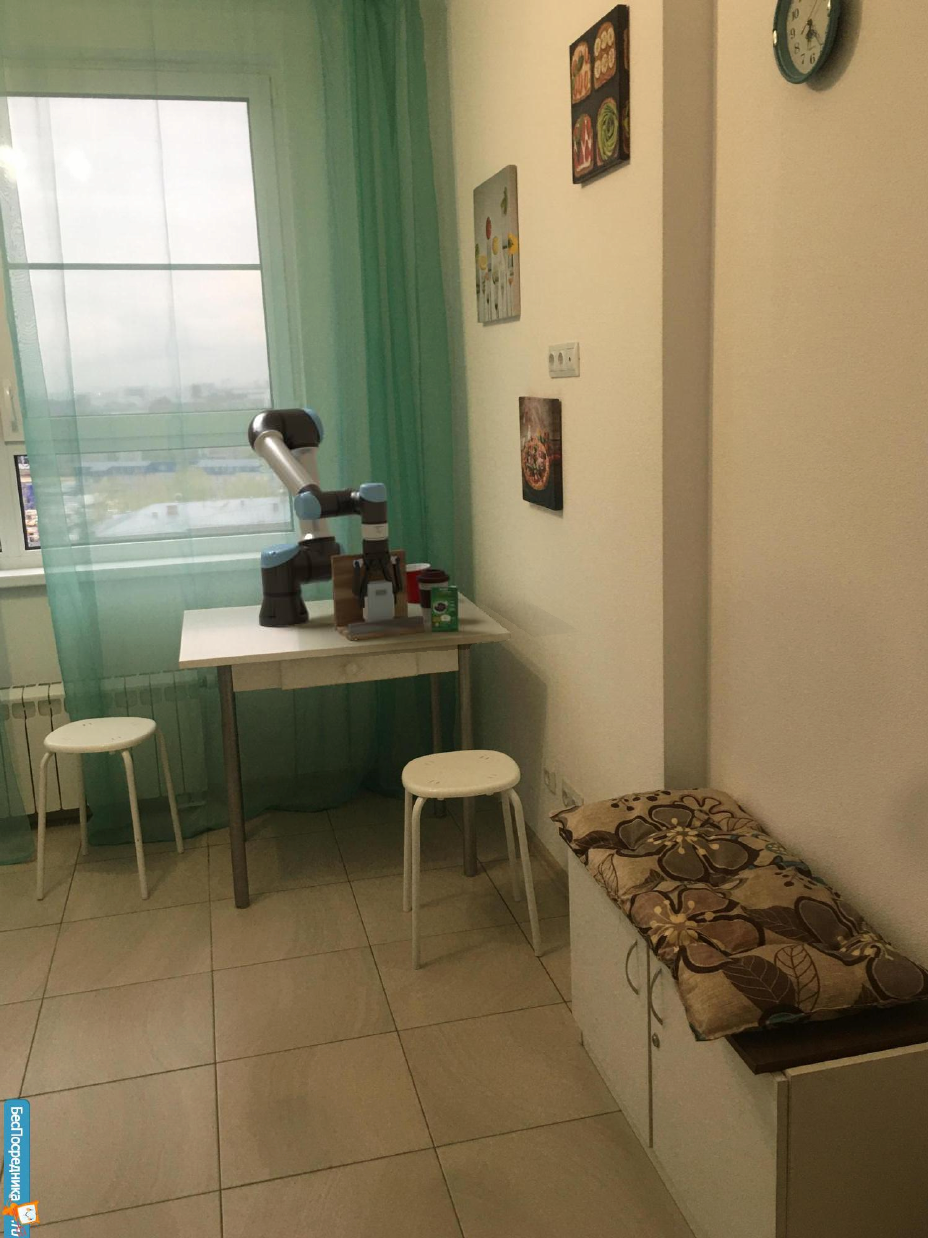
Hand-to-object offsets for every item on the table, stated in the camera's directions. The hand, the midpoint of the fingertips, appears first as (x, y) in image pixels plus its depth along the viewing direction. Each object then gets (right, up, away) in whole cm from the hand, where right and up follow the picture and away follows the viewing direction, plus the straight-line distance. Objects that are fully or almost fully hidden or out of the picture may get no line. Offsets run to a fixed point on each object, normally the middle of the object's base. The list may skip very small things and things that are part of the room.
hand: (378, 617), depth 314 cm
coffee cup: (+16, -1, +15) cm, 22 cm away
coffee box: (+19, -4, 0) cm, 20 cm away
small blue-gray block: (0, -2, 0) cm, 2 cm away
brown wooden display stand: (0, -4, +1) cm, 4 cm away
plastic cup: (+8, +5, +44) cm, 45 cm away
